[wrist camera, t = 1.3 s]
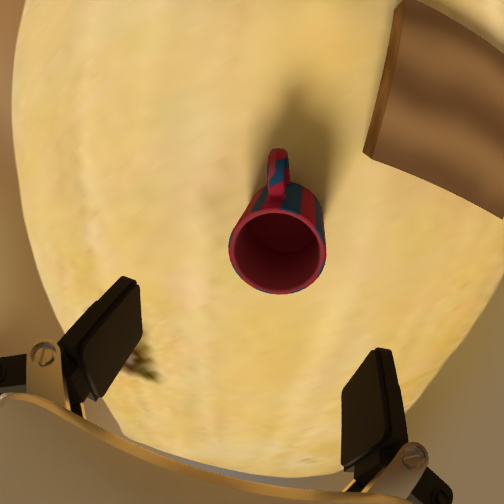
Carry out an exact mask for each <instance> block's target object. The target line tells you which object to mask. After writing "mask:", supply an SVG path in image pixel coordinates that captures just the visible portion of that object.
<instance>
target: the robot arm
mask: <svg viewBox="0 0 504 504" xmlns="http://www.w3.org/2000/svg"><path fill="white" fill-rule="evenodd" d="M142 333H143V330H142V317H141V302H140V287H139V285H137V282H136V280H133V279H131V278H128V277H125V276H122V277H120V278H119V279H118V280H117V281H116V282H115V283H114V284H113V285H112V286H111V287H110V288H109V289H108V290H107V292H106V293H105V294H104V295H103V296H102V297H101V298H100V299H99V300H98V301H95V302H94V303H93V304H92V305H91V306H90V307H89V308H88V309H87V311H86V312H85V313H84V314H83V315H82V316H81V317H80V318H79V319H78V320H77V321H76V323H75V324H74V325H73V326H72V327H71V328H70V329H69V330H68V331H67V333H66V334H65V335H64V336H63V337H62V338H61V340H60V341H59V342H58V343H55V342H54V341H52V340H49V339H42V340H38V341H36V342H34V343H33V344H32V345H31V346H30V347H29V349H28V351H27V354H22V355H15V356H9V357H1V358H0V504H452V500H453V493H452V490H451V488H450V487H449V486H448V485H447V484H446V483H445V482H444V481H443V480H441V479H440V478H439V477H438V476H437V475H436V474H435V473H434V472H433V471H431V470H430V469H429V468H428V467H427V465H428V460H429V457H428V453H427V451H426V449H425V448H424V446H422V445H421V444H420V443H418V442H408V434H407V427H406V420H405V413H404V407H403V401H402V396H401V390H400V386H399V384H398V379H397V374H396V369H395V364H394V360H393V355H392V352H391V350H389V349H384V348H378V347H377V348H376V349H375V350H372V351H370V353H369V354H368V356H367V357H366V358H365V360H364V361H363V363H362V364H361V365H360V367H359V368H358V370H357V371H356V372H355V374H354V375H353V376H352V378H351V379H350V380H349V382H348V383H347V384H346V385H345V387H344V388H343V390H342V395H341V402H342V436H341V465H342V466H344V472H354V479H353V480H352V481H351V483H350V484H349V485H348V486H347V487H346V488H345V489H344V490H343V491H342V492H334V491H333V492H332V491H319V490H306V489H297V488H288V487H280V486H274V485H267V484H262V483H257V482H251V481H247V480H242V479H238V478H233V477H229V476H225V475H221V474H217V473H214V472H210V471H207V470H203V469H200V468H197V467H193V466H190V465H187V464H184V463H181V462H179V461H176V460H173V459H170V458H167V457H165V456H162V455H160V454H157V453H155V452H152V451H150V450H147V449H145V448H142V447H140V446H138V445H136V444H133V443H131V442H129V441H127V440H125V439H123V438H121V437H119V436H116V435H115V434H113V433H111V432H109V431H107V430H105V429H103V428H100V427H99V426H97V425H95V424H93V423H91V422H89V421H88V420H86V415H85V411H84V405H83V402H84V401H85V399H86V398H87V397H88V398H90V399H92V400H94V401H95V402H96V401H97V399H98V398H99V397H103V396H104V395H105V393H106V391H107V390H108V388H109V387H110V385H111V384H112V382H113V380H114V379H115V377H116V376H117V374H118V373H119V371H120V370H121V368H122V366H123V365H124V363H125V362H126V360H127V359H128V357H129V356H130V354H131V353H132V351H133V350H134V348H135V347H136V345H137V344H138V342H139V341H140V339H141V337H142Z"/></svg>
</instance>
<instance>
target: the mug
mask: <svg viewBox="0 0 504 504" xmlns="http://www.w3.org/2000/svg"><path fill="white" fill-rule="evenodd" d="M267 183H268V185H267V186H265V187H264V188H262V189H261V190H259V191H258V192H257V194H256V195H255V196H254V197H253V199H252V200H251V202H250V203H249V205H248V207H247V208H246V210H245V211H244V213H243V215H242V216H241V218H240V219H239V221H238V223H237V224H236V226H235V228H234V229H233V231H232V233H231V236H230V239H229V245H228V247H229V257H230V261H231V263H232V266H233V268H234V269H235V271H236V273H237V274H238V275H239V276H240V277H241V279H242V280H244V281H245V282H246V283H247V284H249V285H250V286H252V287H253V288H255V289H258V290H260V291H262V292H266V293H270V294H290V293H295V292H298V291H301V290H302V289H304V288H306V287H308V286H309V285H311V284H312V283H313V282H314V281H315V280H316V279H317V278H318V277H319V275H320V274H321V272H322V270H323V268H324V265H325V261H326V242H325V231H324V222H323V213H322V209H321V206H320V204H319V202H318V200H317V199H316V197H315V196H314V195H313V194H312V193H311V192H310V191H309V190H307V189H306V188H305V187H303V186H301V185H298V184H295V183H292V182H290V174H289V161H288V155H287V152H286V150H285V149H280V148H277V149H272V151H271V152H270V154H269V157H268V165H267Z"/></svg>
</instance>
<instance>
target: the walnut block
mask: <svg viewBox="0 0 504 504" xmlns="http://www.w3.org/2000/svg"><path fill="white" fill-rule="evenodd" d="M363 153H364V154H366V155H367V156H368V157H370V158H371V159H373V160H376V161H379V162H381V163H384V164H387V165H389V166H392V167H395V168H397V169H400V170H402V171H405V172H407V173H409V174H412V175H414V176H417V177H419V178H421V179H424V180H426V181H428V182H430V183H433V184H435V185H437V186H439V187H441V188H443V189H446V190H448V191H450V192H452V193H454V194H456V195H458V196H460V197H462V198H464V199H466V200H468V201H470V202H472V203H474V204H475V205H477V206H479V207H481V208H483V209H485V210H486V211H488V212H490V213H492V214H494V215H495V216H497V217H499V218H500V219H502V220H503V217H504V54H503V53H501V52H500V51H499V50H498V49H496V48H495V47H494V46H492V45H491V44H490V43H488V42H487V41H485V40H484V39H482V38H481V37H480V36H478V35H477V34H475V33H474V32H472V31H471V30H469V29H468V28H466V27H464V26H463V25H461V24H459V23H458V22H456V21H454V20H453V19H451V18H449V17H447V16H446V15H444V14H442V13H440V12H438V11H436V10H435V9H433V8H431V7H429V6H427V5H425V4H423V3H420V2H418V1H416V0H403V1H402V2H401V3H400V4H399V6H398V7H397V8H396V9H395V11H394V17H393V23H392V29H391V35H390V40H389V46H388V51H387V56H386V61H385V66H384V70H383V75H382V79H381V84H380V88H379V92H378V96H377V100H376V104H375V108H374V112H373V116H372V120H371V124H370V127H369V131H368V135H367V138H366V142H365V145H364V149H363Z"/></svg>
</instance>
